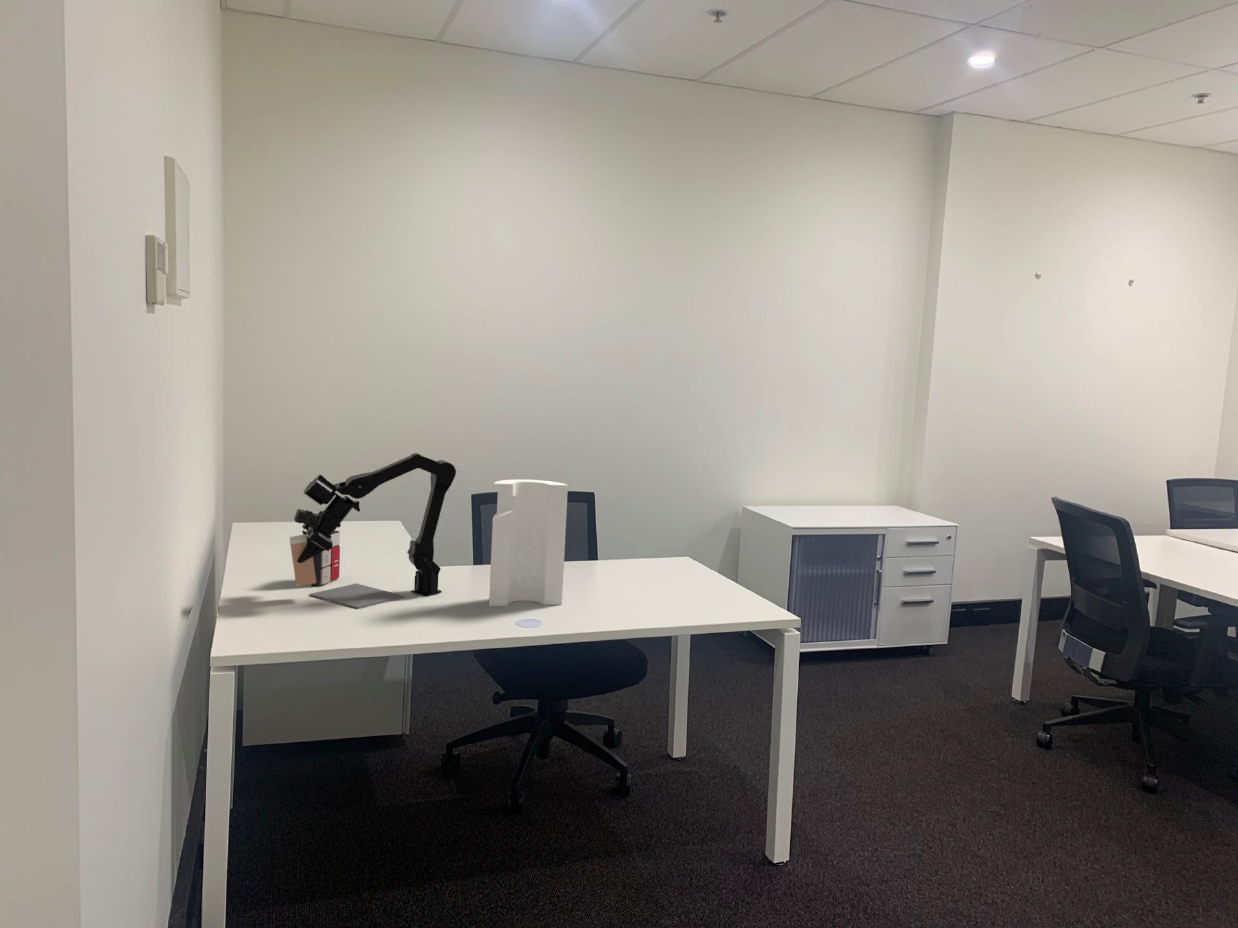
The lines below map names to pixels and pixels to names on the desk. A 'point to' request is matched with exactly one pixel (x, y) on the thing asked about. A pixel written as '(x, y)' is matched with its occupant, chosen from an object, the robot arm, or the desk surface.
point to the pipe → (528, 542)
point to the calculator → (328, 562)
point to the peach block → (305, 569)
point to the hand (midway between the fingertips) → (297, 560)
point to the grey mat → (356, 595)
